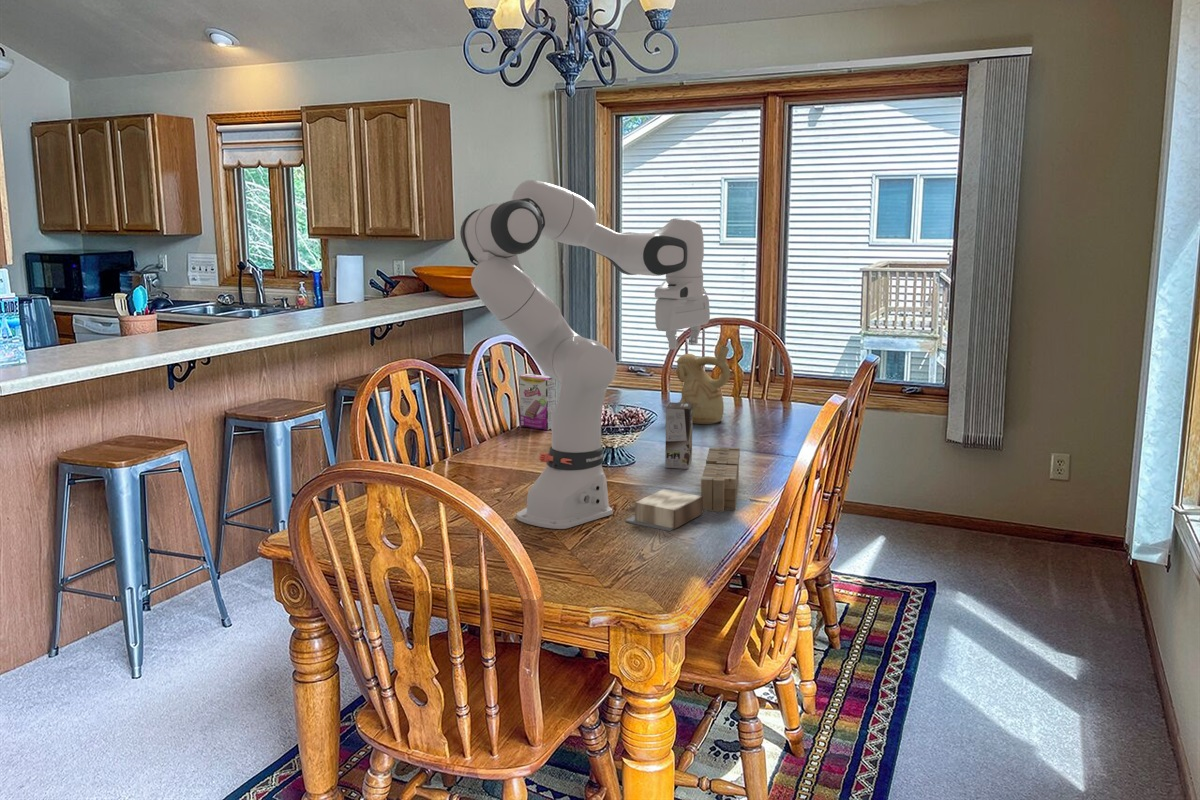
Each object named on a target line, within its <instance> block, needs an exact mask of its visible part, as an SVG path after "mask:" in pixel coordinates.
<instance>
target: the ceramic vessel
mask: <svg viewBox="0 0 1200 800" xmlns="http://www.w3.org/2000/svg"><path fill="white" fill-rule="evenodd" d="M729 350H730V347H729V346H726V345H720V346H719V350H718V354H717V356H708V355H707V356H700V357H697V356H696V355H695V354H693V353H684V354H682V355H681V356H680V357H678V358H677V360H676V363H677V364H676V365H677V366H676V369H675V374H676V375H677V378H678V380H679V381H680V382H681V383H683V386H682V389H681V399H680V400H679V402H688V403H693V412H692V424H696V425H698V424H699V425H713V424H717V423H720V422H721V421H722V419H723V415H724V409H725V408H724V406H725V405H724V398H723V394H722V392H721V389H720V388H722V387H724V386H725V385H726V384H727V383H728V382H729V380H730V377H731V369H730V365H729V363H727V361H726V360H727V356H728V353H729ZM705 365H713V366H715V367H716V366H717V367H718V368H720V370H721V376H720V377H719V378H717V379H714V378H712V377H711V375H709V374H708V373H707V372H706V371H705V369H704V367H703V366H705Z"/></svg>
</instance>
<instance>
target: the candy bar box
mask: <svg viewBox="0 0 1200 800" xmlns="http://www.w3.org/2000/svg"><path fill="white" fill-rule="evenodd" d="M556 386H557V385H556V380H553V379H552V378H550V377H549V376H548V375H542V374H541V375H540V374H533V373H525V374H520V375H518V395H519V406H518V407H519V426H520V427H524V428H529V429H537V430H542V429H543V431H550V430H549V429H551V430H552V426H551V415H552V411H553V409H554V408H555V407H556V405H557V395H556V393H557V392H556V390H557V389H556ZM529 388H530V391H529Z"/></svg>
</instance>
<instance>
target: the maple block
mask: <svg viewBox="0 0 1200 800" xmlns="http://www.w3.org/2000/svg"><path fill="white" fill-rule="evenodd" d="M703 513H704V511H703V496H701V495H698V494H691V493H687V492H681V491H675V490H671V489H667V488H666V489H665V488H663V489H661V490H659V491H657V492H654V493H653V494H650V495H648V496H646V497H643V498H641V499H639V500H637V501H635V502H634V516H635V520H636V521H641V522H646V523H650V524H655V525H660V526H665V527H669V528H674V529H675V530H676V529H678V528H679V527H681V526H682V525H685V524H687V523H688V522H690V521H692V520H694V519H696V518H697V517H699V516H702V515H703ZM674 529H673V530H674Z"/></svg>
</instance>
